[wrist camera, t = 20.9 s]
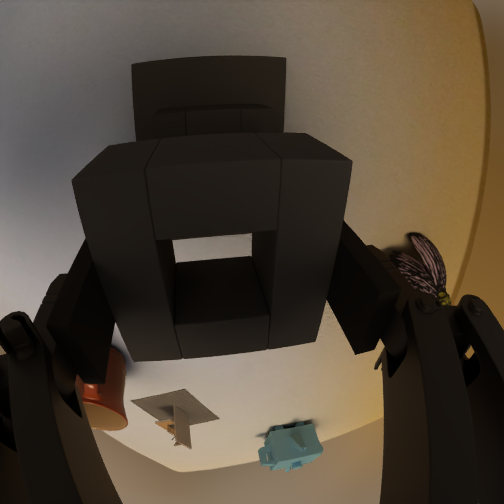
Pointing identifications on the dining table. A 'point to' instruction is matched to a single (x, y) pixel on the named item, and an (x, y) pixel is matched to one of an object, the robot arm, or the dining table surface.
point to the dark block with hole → (212, 120)
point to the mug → (106, 396)
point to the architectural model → (176, 413)
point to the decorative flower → (424, 268)
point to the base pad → (207, 88)
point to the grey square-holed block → (214, 223)
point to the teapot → (290, 447)
